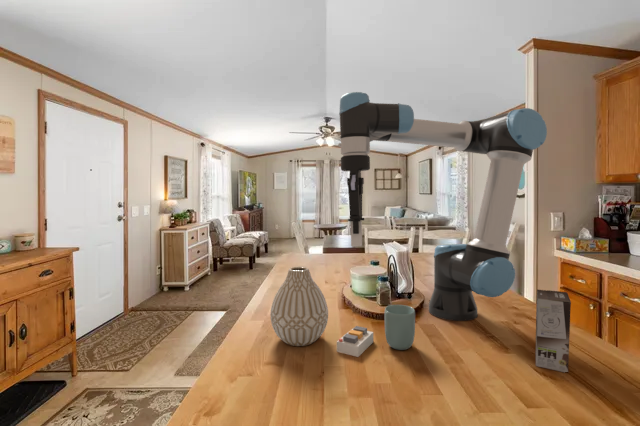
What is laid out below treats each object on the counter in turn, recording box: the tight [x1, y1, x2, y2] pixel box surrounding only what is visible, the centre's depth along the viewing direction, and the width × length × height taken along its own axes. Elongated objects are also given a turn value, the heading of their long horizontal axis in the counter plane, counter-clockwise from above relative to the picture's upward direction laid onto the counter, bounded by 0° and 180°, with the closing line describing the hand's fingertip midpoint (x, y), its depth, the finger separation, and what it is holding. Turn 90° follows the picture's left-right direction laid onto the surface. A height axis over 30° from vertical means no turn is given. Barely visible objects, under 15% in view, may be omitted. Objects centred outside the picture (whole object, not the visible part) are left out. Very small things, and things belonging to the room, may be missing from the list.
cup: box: [384, 304, 416, 351], centre depth 91 cm, size 8×8×10 cm
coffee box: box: [535, 289, 572, 373], centre depth 82 cm, size 9×6×16 cm
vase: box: [269, 266, 329, 347], centre depth 96 cm, size 16×16×20 cm
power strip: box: [336, 325, 374, 358], centre depth 91 cm, size 10×6×4 cm, turn 149°
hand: (356, 245), depth 91 cm, fingers closed
